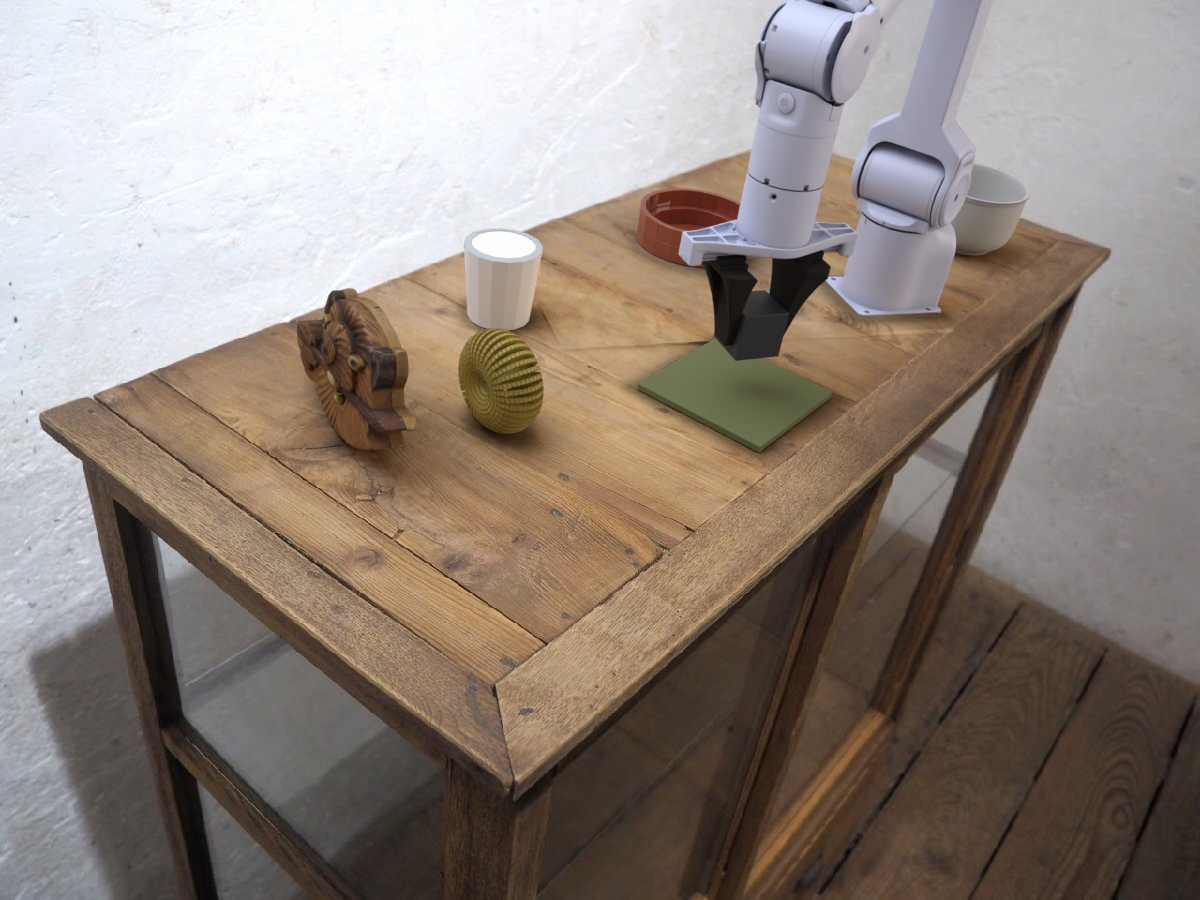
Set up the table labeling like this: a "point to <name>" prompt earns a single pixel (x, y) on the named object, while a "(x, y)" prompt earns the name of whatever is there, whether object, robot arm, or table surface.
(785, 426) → the pad
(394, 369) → the wooden carving
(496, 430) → the sculpture
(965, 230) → the teacup
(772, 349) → the block
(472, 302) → the white cylinder
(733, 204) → the bowl
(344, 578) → the table surface
